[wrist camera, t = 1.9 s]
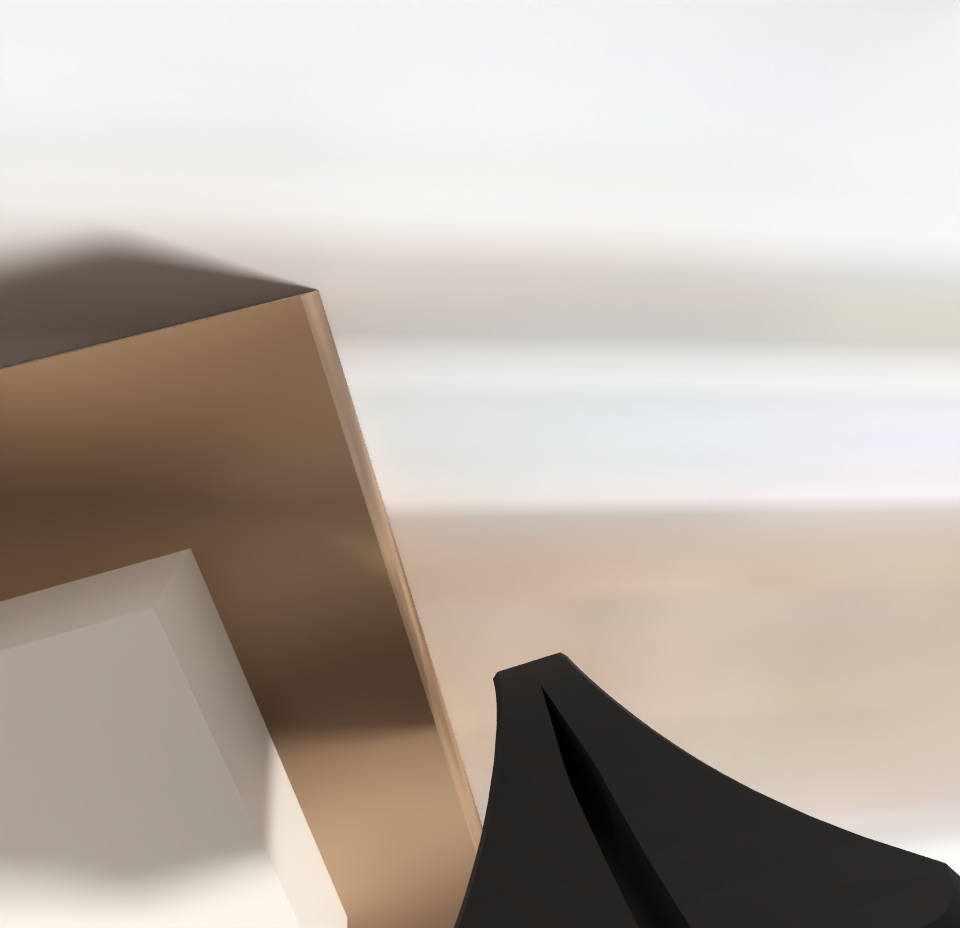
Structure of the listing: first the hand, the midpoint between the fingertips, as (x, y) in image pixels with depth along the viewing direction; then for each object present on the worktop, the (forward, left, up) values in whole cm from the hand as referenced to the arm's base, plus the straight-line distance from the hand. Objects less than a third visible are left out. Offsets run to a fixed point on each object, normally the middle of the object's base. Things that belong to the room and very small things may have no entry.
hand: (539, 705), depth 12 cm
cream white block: (0, +8, -1) cm, 8 cm away
